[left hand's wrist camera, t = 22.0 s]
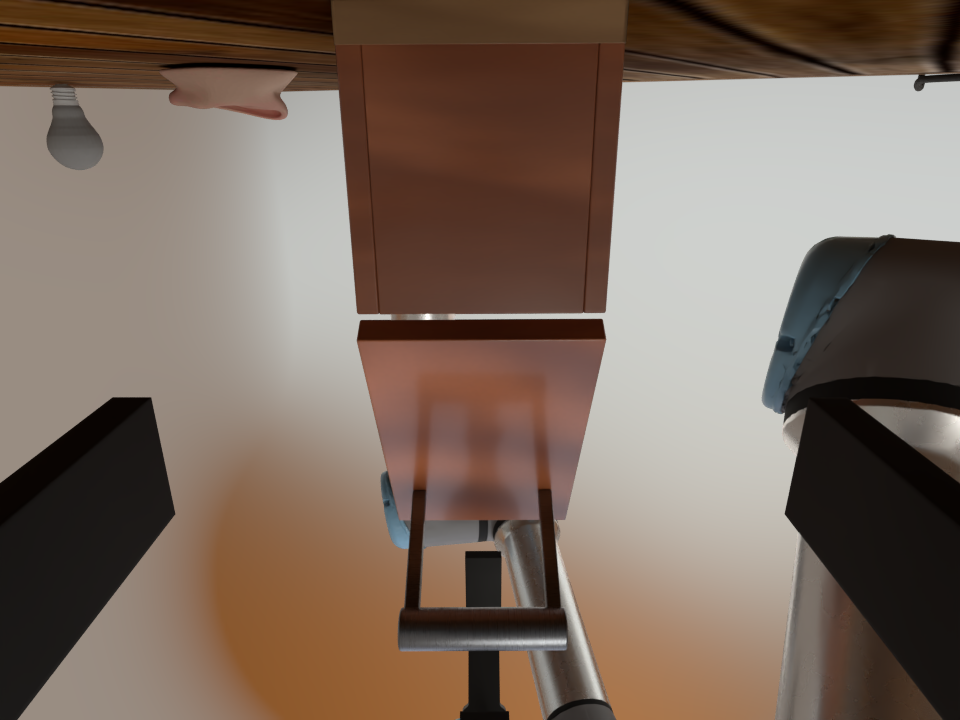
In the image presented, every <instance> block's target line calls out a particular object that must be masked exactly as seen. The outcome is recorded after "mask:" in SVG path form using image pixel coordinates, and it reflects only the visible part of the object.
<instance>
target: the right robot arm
mask: <svg viewBox="0 0 960 720" xmlns="http://www.w3.org/2000/svg"><path fill="white" fill-rule="evenodd" d="M391 320H455V314H391ZM381 491H382V498H383V503H384V512H385V517H386V522H387V527H388V530H389V534H390V537H391V540H392V542H393V543H394V544H395V545H396V546H397V547H399V548H402V549H407V548H409V535H410V521H411V520H401V521H400V520H399V517H398V513H397V509H396V505H395V500H394V496H393V492H392V488H391V483H390V479H389V475H388V471H385V472H383V473H382V475H381ZM554 526H555V538H556V550H557V561H558V573H559V585H560V597H561V607H564V608H565V610H566V615H567V623H568V647H567V650H538V651H527V653H528V657H529V661H530V665H531V670H532V674H533V678H534V682H535V686H536V690H537V695H538V699H539V704H540V708H541V712H542V716H543V720H616V718H615V716H614V714H613V711H612V708H611V705H610V702H609V699H608V696H607V693H606V690H605V687H604V684H603V681H602V678H601V675H600V672H599V669H598V666H597V663H596V660H595V657H594V653H593V650H592V647H591V644H590V641H589V638H588V635H587V632H586V629H585V626H584V623H583V620H582V617H581V614H580V611H579V608H578V605H577V602H576V599H575V596H574V593H573V590H572V587H571V584H570V580H569V577H568V574H567V571H566V568H565V565H564V562H563V559H562V556H561V553H560V550H559V547H558V544H557V542H558V540H559V537H560V528H559V525H558V522H557V520H554ZM482 541H494V543H495V547H496V549H497V551H466V552H465V570H466V607H501V555H502V556H503V557H505V559H506V563H507V567H508V572H509V576H510V580H511V584H512V589H513V593H514V597H515V601H516V606H517V607H545V594H544V580H543V565H542V550H541V536H540V521H539V520H425V531H424V549H425V548H426V547H427V546H439V545H450V544H461V543H472V542H482ZM456 720H509V711H506V709H505V707H504V706H503V705H501V704H500V684H499V651H469V702H468V704H467V705H466V706H464V708H463V711H461V712H460V718H459V719H456Z"/></svg>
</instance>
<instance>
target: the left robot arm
mask: <svg viewBox="0 0 960 720" xmlns="http://www.w3.org/2000/svg"><path fill="white" fill-rule="evenodd" d="M948 81H960V74H944V75H930V76H925V75H918V79H917V80H916V81H915V83H914V88H915V90H916V91H921V90H922V89H923V88H924V84H925V83H928V82H948ZM762 402H763V404H764V405H765V406H766V407H768V408H770V409H773V410H774V411H775V412H778V413H779V414H783V413H785V416H784V424H783V431H782V435H783V439H784V442H785V443H786V445H787V446H788V447H789V448H790V450H791V451H792V452H793V453H794V454H795V455H796V456H797V457H796V462H795V467H794V472H793V477H792V481H791V486H790V491H789V496H788V501H787V505H786V510H785V515H786V516H787V518H788V519H789V520H790V522H791V523H792V524H793V526H794V527H795V528H796V529H797V531H798V536H797V545H796V553H795V561H794V569H793V577H792V585H791V593H790V601H789V609H788V618H787V626H786V634H785V642H784V650H783V658H782V667H781V675H780V683H779V691H778V699H777V707H776V715H775V720H960V242H949V241H935V240H920V239H906V238H896V236H894V235H890V234H888V235H883V236H880V237H879V238H874V237H831V238H827V239H824V240H823V241H821V242H819V243H817V244H816V245H814V246H813V247H812V248H811V249H810V250H809V251H808V252H807V254H806V256H805V258H804V260H803V262H802V264H801V267H800V270H799V272H798V275H797V278H796V280H795V283H794V286H793V289H792V292H791V295H790V298H789V302H788V305H787V308H786V311H785V314H784V318H783V321H782V324H781V328H780V331H779V338H778V341H777V342H776V346H775V349H774V353H773V356H772V358H771V362H770V365H769V369H768V372H767V376H766V380H765V384H764V388H763V393H762ZM174 515H175V510H174V505H173V501H172V496H171V491H170V486H169V481H168V477H167V472H166V467H165V462H164V457H163V452H162V448H161V443H160V438H159V433H158V428H157V424H156V419H155V414H154V409H153V404H152V399H151V398H150V397H113V398H111V399H110V400H109V401H107V402H106V403H105V404H103V405H102V406H101V407H100V408H98V409H97V410H96V411H94V412H93V413H92V414H90V415H89V416H88V417H86V418H85V419H84V420H82V421H81V422H80V423H79V424H77V425H76V426H75V427H73V428H72V429H71V430H69V431H68V432H67V433H65V434H64V435H63V436H61V437H60V438H59V439H58V440H56V441H55V442H54V443H52V444H51V445H50V446H48V447H47V448H46V449H44V450H43V451H42V452H40V453H39V454H38V455H37V456H35V457H34V458H33V459H31V460H30V461H29V462H27V463H26V464H25V465H23V466H22V467H21V468H19V469H18V470H17V471H16V472H14V473H13V474H12V475H10V476H9V477H8V478H6V479H5V480H4V481H2V482H1V483H0V720H17V719H18V718H19V717H20V716H21V714H22V713H23V712H24V710H25V709H26V708H27V706H28V705H29V704H30V702H31V701H32V700H33V699H34V697H35V696H36V695H37V693H38V692H39V691H40V689H41V688H42V687H43V686H44V684H45V683H46V682H47V680H48V679H49V678H50V676H51V675H52V674H53V673H54V671H55V670H56V669H57V667H58V666H59V665H60V663H61V662H62V661H63V660H64V658H65V657H66V656H67V654H68V653H69V652H70V650H71V649H72V648H73V647H74V645H75V644H76V643H77V641H78V640H79V639H80V637H81V636H82V635H83V634H84V632H85V631H86V630H87V628H88V627H89V626H90V624H91V623H92V622H93V620H94V619H95V618H96V617H97V615H98V614H99V613H100V611H101V610H102V609H103V607H104V606H105V605H106V604H107V602H108V601H109V600H110V598H111V597H112V596H113V595H114V593H115V592H116V591H117V589H118V588H119V587H120V585H121V584H122V583H123V582H124V580H125V579H126V578H127V576H128V575H129V574H130V572H131V571H132V570H133V568H134V567H135V566H136V565H137V563H138V562H139V561H140V559H141V558H142V557H143V555H144V554H145V553H146V552H147V550H148V549H149V548H150V546H151V545H152V544H153V542H154V541H155V540H156V538H157V537H158V536H159V535H160V533H161V532H162V531H163V529H164V528H165V527H166V526H167V524H168V523H169V522H170V520H171V519H172V518H173V516H174Z"/></svg>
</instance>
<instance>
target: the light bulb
mask: <svg viewBox="0 0 960 720" xmlns="http://www.w3.org/2000/svg"><path fill="white" fill-rule="evenodd" d="M50 90H52V92H51V93H53V95H52V97H54V99H53V105H54V106H53V109H52V115H53V119H52V123H51V126H50V128H49V131H48V134H47V147H48V150H49V152H50V153H51V155H52V156H53V157H54V158H55V159H56V160H57V161H58V162H59V163H61V164H62V165H64V166H65V167H68V168H71V169H75V170H85V169H88V168H91V167H93V166H95V165H96V164H97V163H98V162H99V161H100V159H101V157H102V154H103V143H102V140H101V138H100V136H99V134H98V133H97V132H96V131H95V129H94V128H93V127H92V126H91V124H90V123H89V122H88V120H87V119H86V118H85V115H84V112H83V110H82V108H81V107H80V106H79V103H78V100H76V98H77V97H75V95H76V94H75V93H74V91H75V88H73V87H71V86H69V85H68V84H55V85H54V86H52V87H51V88H50Z"/></svg>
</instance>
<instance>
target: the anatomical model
mask: <svg viewBox="0 0 960 720" xmlns="http://www.w3.org/2000/svg"><path fill="white" fill-rule="evenodd" d="M159 72H160V74H161V75H162V76H164V77H165V78H167V79H168V80H169V81H171V82H172V83H174V84H175V85H176V89H175V90H174V91H173V92H171V93H170V95H169V100H170V103H172V104H173V105H177V106H189V107H193V108H199V109H208V108H219V109H225V110H230V111H234V112H239V113H244V114H248V115H252V116H257V117H261V118H266V119H272V120H281V119H284V118H286V117H287V114H288V110H287V107H286V105H285V103H284V102H283V101H282V99H281V98H280V94H281V92H282V90H283V89H284V88H285V87H286V86H287V85H288V84H289V83H290V82H291V80H292V79H293V78H294V77H295V76H296V75H297V72H296V71H292V70H282V69H265V68H241V67H184V68H171V69H163V70H159Z"/></svg>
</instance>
